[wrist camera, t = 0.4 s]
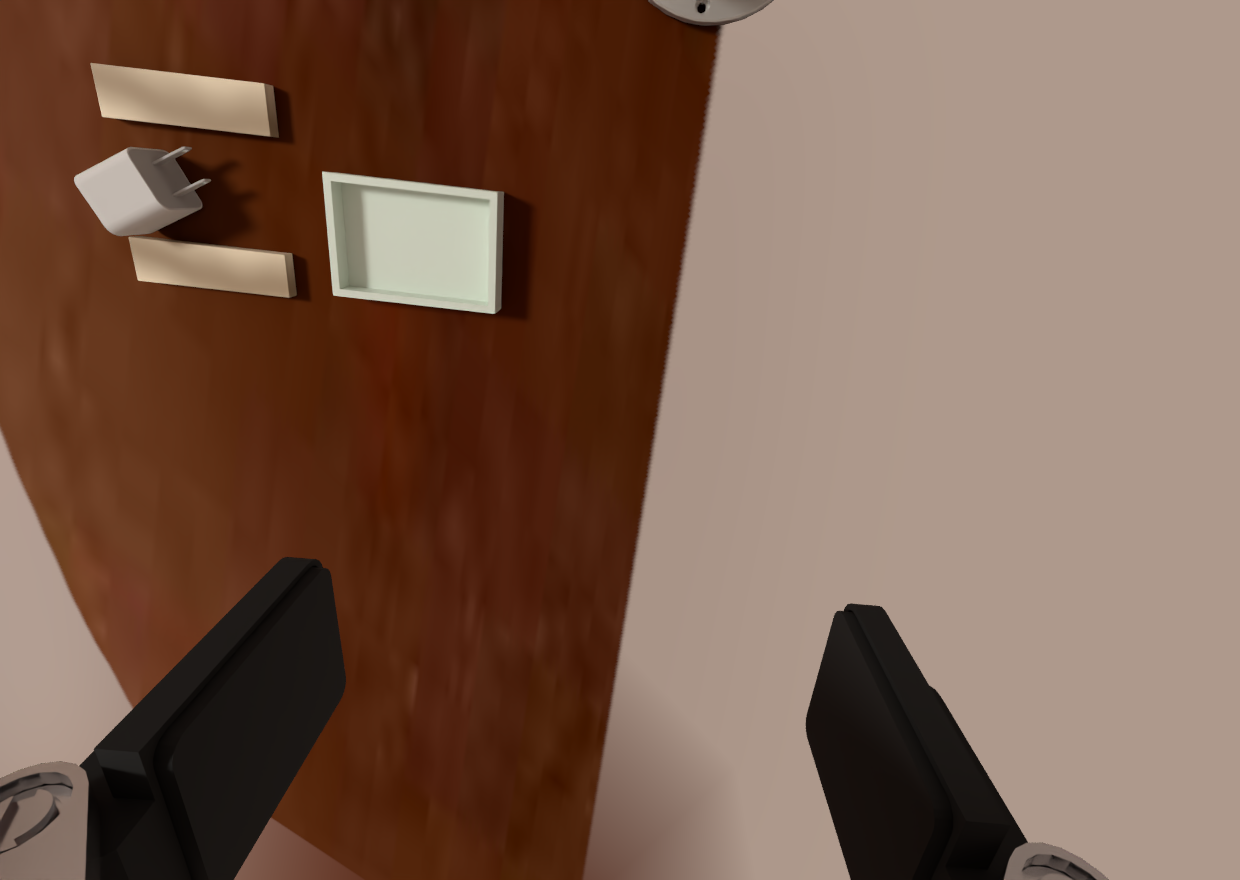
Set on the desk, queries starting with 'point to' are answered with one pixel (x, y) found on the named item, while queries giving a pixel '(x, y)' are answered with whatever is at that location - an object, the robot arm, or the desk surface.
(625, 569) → the desk surface
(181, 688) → the robot arm
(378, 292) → the tray
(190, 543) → the desk surface
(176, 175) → the usb wall charger
